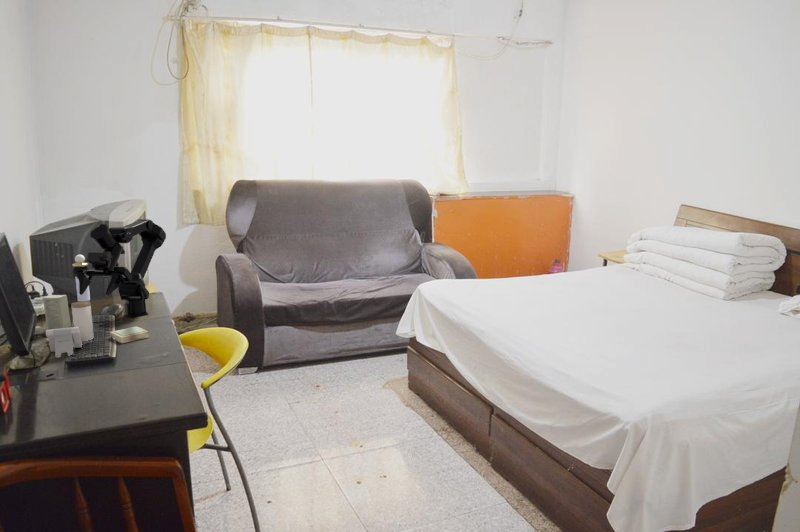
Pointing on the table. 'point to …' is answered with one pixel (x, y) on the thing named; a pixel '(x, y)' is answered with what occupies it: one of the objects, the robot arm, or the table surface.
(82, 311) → the tumbler
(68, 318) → the skincare box
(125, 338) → the square tray
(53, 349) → the portable electronic device stand
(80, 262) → the perfume bottle
